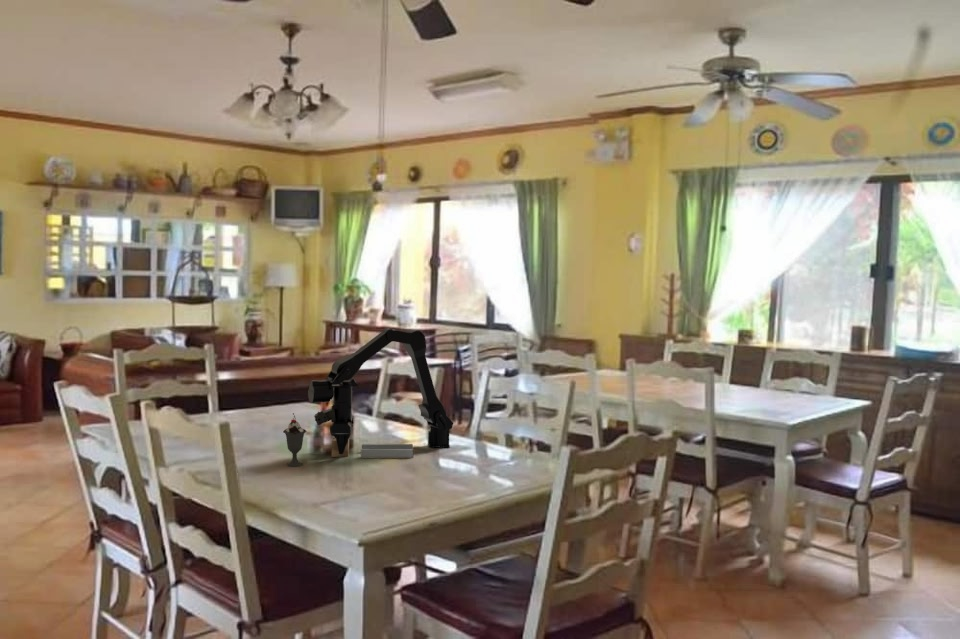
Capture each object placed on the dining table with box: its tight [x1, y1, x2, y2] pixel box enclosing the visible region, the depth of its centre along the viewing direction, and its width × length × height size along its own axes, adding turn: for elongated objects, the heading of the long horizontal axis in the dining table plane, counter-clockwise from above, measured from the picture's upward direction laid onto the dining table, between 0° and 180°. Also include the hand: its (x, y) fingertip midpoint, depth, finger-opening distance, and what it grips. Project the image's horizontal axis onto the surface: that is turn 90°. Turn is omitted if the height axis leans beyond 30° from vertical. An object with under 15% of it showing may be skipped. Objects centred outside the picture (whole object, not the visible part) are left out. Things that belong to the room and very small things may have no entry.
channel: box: [360, 443, 414, 459], centre depth 265 cm, size 16×8×2 cm, turn 96°
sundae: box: [283, 413, 307, 468], centre depth 249 cm, size 7×7×15 cm
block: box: [331, 436, 350, 458], centre depth 263 cm, size 5×5×5 cm
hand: (342, 450), depth 263 cm, fingers open, 9 cm apart
